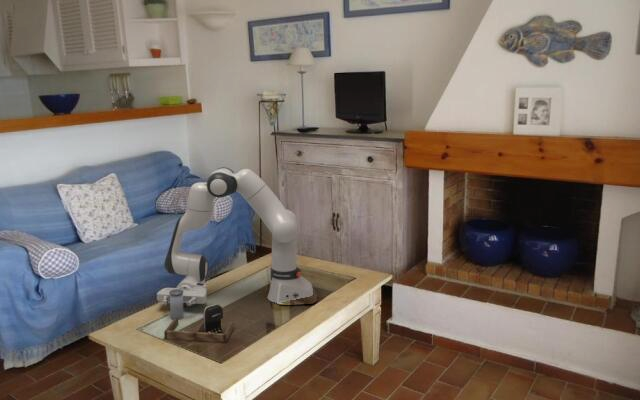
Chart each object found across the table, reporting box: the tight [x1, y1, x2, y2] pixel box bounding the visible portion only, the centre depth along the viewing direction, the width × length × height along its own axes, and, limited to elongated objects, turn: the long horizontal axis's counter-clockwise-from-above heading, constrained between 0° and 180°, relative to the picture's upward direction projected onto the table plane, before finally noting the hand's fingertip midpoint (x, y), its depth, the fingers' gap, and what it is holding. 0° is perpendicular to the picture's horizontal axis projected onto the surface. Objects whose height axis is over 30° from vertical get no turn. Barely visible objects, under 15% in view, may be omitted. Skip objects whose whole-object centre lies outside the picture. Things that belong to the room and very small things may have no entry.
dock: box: [163, 317, 235, 343], centre depth 206 cm, size 23×13×3 cm, turn 86°
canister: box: [169, 289, 184, 321], centre depth 218 cm, size 5×5×11 cm
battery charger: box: [203, 303, 224, 334], centre depth 204 cm, size 7×4×11 cm, turn 134°
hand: (176, 303), depth 218 cm, fingers open, 8 cm apart
